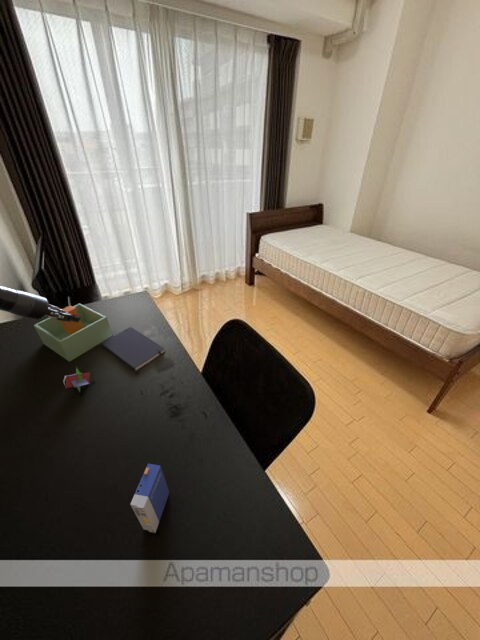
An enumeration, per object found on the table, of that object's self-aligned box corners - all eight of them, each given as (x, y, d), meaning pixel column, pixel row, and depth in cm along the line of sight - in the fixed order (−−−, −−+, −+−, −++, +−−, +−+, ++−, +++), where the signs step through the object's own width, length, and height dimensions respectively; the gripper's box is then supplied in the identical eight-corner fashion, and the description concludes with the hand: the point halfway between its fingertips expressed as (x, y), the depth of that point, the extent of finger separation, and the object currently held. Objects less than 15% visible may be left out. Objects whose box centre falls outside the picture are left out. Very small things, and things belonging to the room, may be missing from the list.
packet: (65, 331, 105) (56, 311, 100) (78, 325, 108) (70, 305, 103) (71, 335, 103) (61, 314, 98) (83, 328, 107) (75, 308, 102)
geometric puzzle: (92, 367, 93) (69, 360, 86) (100, 378, 89) (77, 372, 82) (78, 386, 92) (54, 380, 86) (86, 398, 88) (62, 393, 82)
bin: (43, 343, 107) (33, 325, 101) (86, 321, 118) (79, 303, 113) (69, 361, 98) (59, 342, 93) (112, 335, 110) (106, 316, 105)
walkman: (158, 490, 64) (147, 462, 57) (169, 492, 64) (160, 464, 57) (142, 531, 58) (128, 505, 51) (155, 533, 57) (142, 508, 50)
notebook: (101, 345, 105) (135, 371, 94) (100, 342, 104) (134, 368, 93) (131, 329, 113) (165, 351, 102) (130, 326, 112) (165, 348, 101)
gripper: (42, 299, 86) (91, 314, 102) (20, 287, 93) (69, 303, 108) (32, 322, 86) (82, 333, 101) (10, 308, 92) (61, 321, 108)
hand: (75, 317), depth 105 cm, fingers closed on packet, 3 cm apart
